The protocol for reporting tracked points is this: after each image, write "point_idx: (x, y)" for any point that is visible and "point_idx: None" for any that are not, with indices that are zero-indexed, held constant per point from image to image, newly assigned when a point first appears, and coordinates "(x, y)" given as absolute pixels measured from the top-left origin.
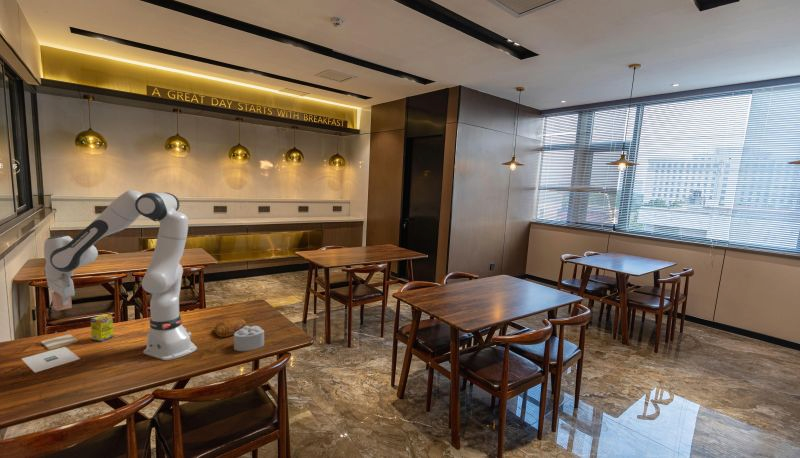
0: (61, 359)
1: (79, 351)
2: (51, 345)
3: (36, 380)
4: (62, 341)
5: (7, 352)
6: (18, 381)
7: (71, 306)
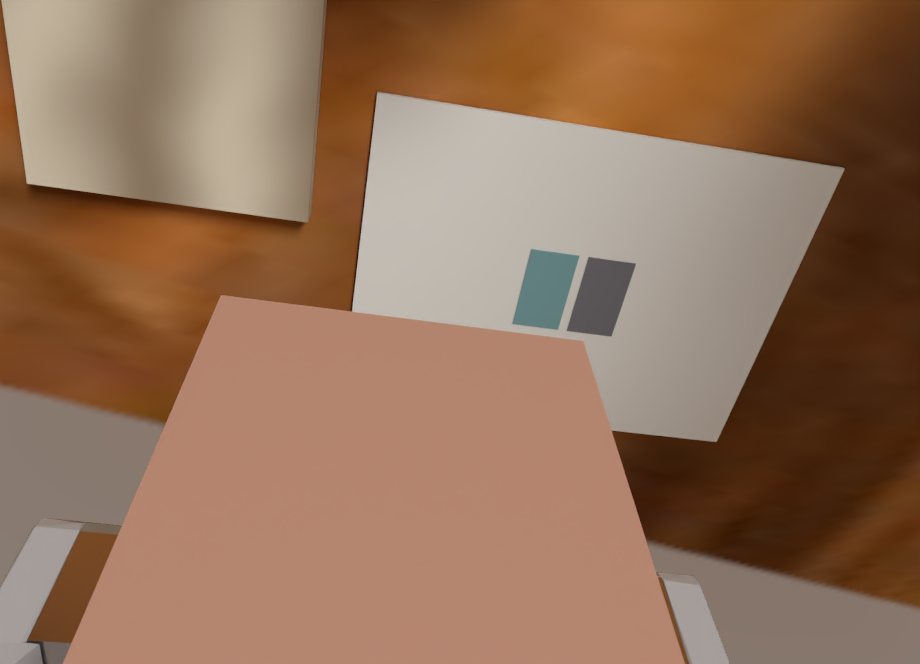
0: (682, 260)
1: (654, 74)
2: (266, 181)
3: (837, 471)
4: (232, 61)
5: (74, 398)
6: (732, 518)
7: (592, 375)
